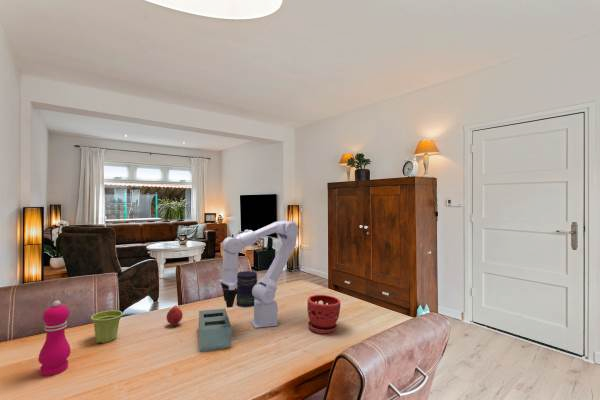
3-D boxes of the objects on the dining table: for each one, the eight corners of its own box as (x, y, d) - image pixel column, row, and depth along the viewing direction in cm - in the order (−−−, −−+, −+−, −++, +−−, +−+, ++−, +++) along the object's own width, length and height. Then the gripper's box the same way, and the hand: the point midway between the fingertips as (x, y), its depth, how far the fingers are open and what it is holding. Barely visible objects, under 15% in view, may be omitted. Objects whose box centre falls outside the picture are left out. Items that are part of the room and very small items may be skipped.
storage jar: (254, 307, 143) (255, 276, 144) (234, 307, 144) (234, 275, 144) (257, 301, 153) (258, 271, 154) (238, 300, 154) (239, 270, 154)
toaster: (224, 325, 122) (225, 308, 122) (230, 347, 104) (231, 326, 104) (198, 328, 118) (199, 310, 118) (200, 351, 100) (200, 330, 100)
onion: (176, 329, 117) (176, 308, 117) (163, 327, 118) (163, 307, 118) (184, 323, 123) (185, 303, 123) (172, 322, 124) (172, 302, 124)
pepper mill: (50, 363, 91) (52, 296, 91) (75, 363, 91) (78, 296, 92) (30, 377, 83) (33, 304, 84) (58, 377, 84) (61, 304, 84)
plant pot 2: (317, 338, 112) (318, 306, 112) (301, 325, 124) (301, 296, 124) (346, 332, 118) (347, 301, 118) (328, 320, 130) (328, 292, 130)
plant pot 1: (117, 331, 114) (118, 308, 114) (124, 339, 107) (125, 315, 107) (87, 338, 107) (88, 314, 108) (93, 348, 101) (94, 322, 101)
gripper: (217, 265, 123) (216, 298, 122) (221, 273, 109) (219, 310, 109) (235, 264, 125) (233, 297, 125) (241, 272, 112) (239, 309, 111)
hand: (228, 303), depth 117 cm, fingers open, 7 cm apart
